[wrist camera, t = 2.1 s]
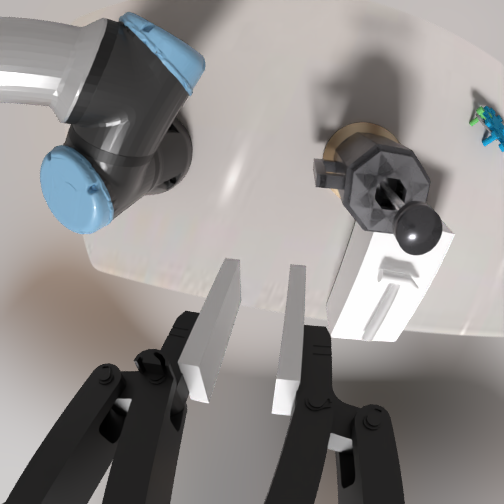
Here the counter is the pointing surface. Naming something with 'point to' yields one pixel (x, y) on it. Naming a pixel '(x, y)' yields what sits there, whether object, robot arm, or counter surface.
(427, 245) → the plunger
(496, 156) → the counter surface
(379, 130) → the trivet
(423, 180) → the carafe
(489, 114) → the gear
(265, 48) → the counter surface
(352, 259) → the tissue box
